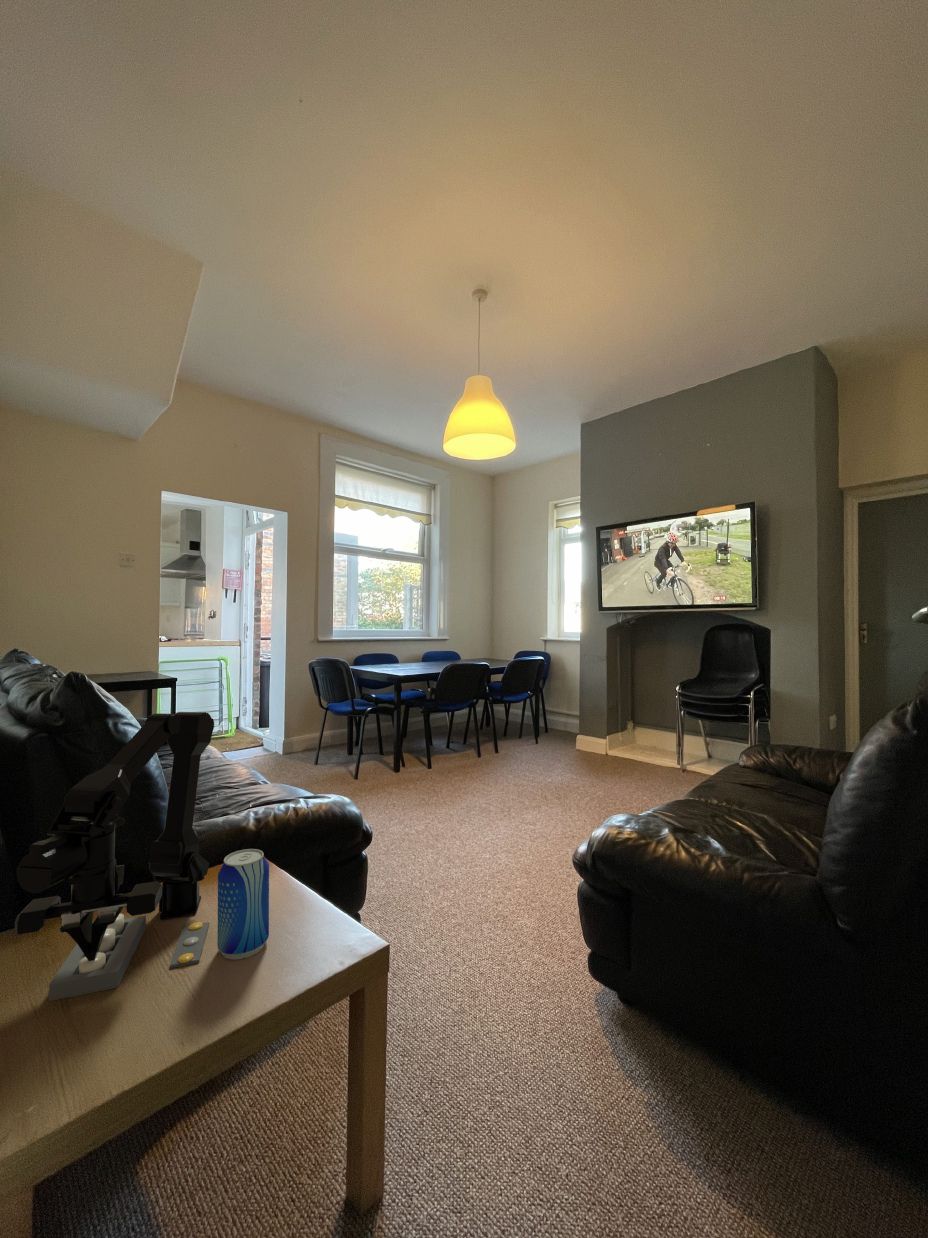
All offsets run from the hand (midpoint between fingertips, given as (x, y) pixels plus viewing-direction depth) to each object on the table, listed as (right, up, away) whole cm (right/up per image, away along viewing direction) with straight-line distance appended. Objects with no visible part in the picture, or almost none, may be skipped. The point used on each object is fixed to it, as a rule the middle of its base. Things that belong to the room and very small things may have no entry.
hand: (92, 959), depth 83 cm
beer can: (+21, -4, +8) cm, 23 cm away
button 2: (-3, -2, +9) cm, 10 cm away
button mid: (-2, -1, +5) cm, 5 cm away
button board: (-2, -3, +5) cm, 6 cm away
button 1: (0, -3, 0) cm, 3 cm away
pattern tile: (+11, -3, +9) cm, 15 cm away
